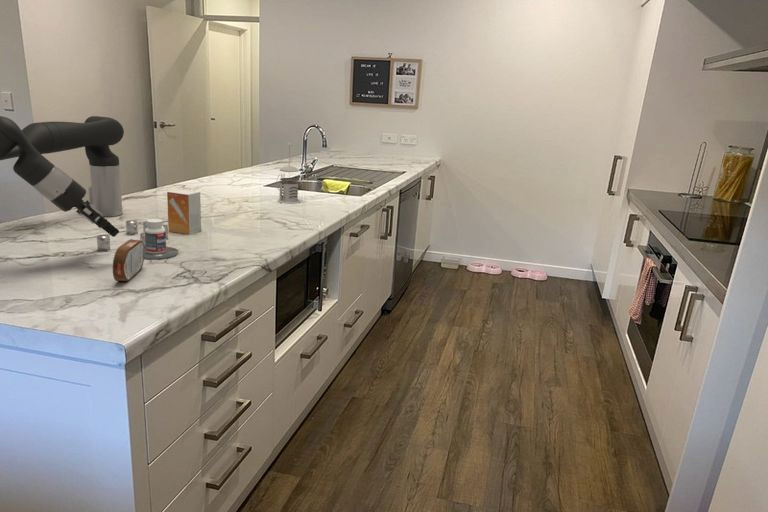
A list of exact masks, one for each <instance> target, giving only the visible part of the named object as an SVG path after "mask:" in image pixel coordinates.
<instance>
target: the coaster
mask: <svg viewBox="0 0 768 512" xmlns="http://www.w3.org/2000/svg"><path fill="white" fill-rule="evenodd" d="M177 254H178V255H179V250H178V248H175V247H172V246H166V252H164V253H160V254H150V253H147V252H146V248H144V260H150V259H158V260H164V259H163V258H167V259H170V258H169V257H172V258H174V257H173V256H175V255H177ZM178 255H177V256H178ZM175 257H176V256H175Z"/></svg>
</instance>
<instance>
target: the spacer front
mask: <svg viewBox="0 0 768 512" xmlns="http://www.w3.org/2000/svg"><path fill="white" fill-rule="evenodd" d="M162 227H163V228H164V229H165V232H166V240H168V239H169V235H168V234H169V228H168V224H163V226H162Z"/></svg>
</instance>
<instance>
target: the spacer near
mask: <svg viewBox="0 0 768 512" xmlns="http://www.w3.org/2000/svg"><path fill="white" fill-rule="evenodd" d="M110 236H111V235H110V234H99V235H97V236H96V243H97V244H96V245H97V251H98V252H100V251H106V252H109V251H108V250H110V249H111V239H110ZM110 251H111V250H110Z"/></svg>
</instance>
